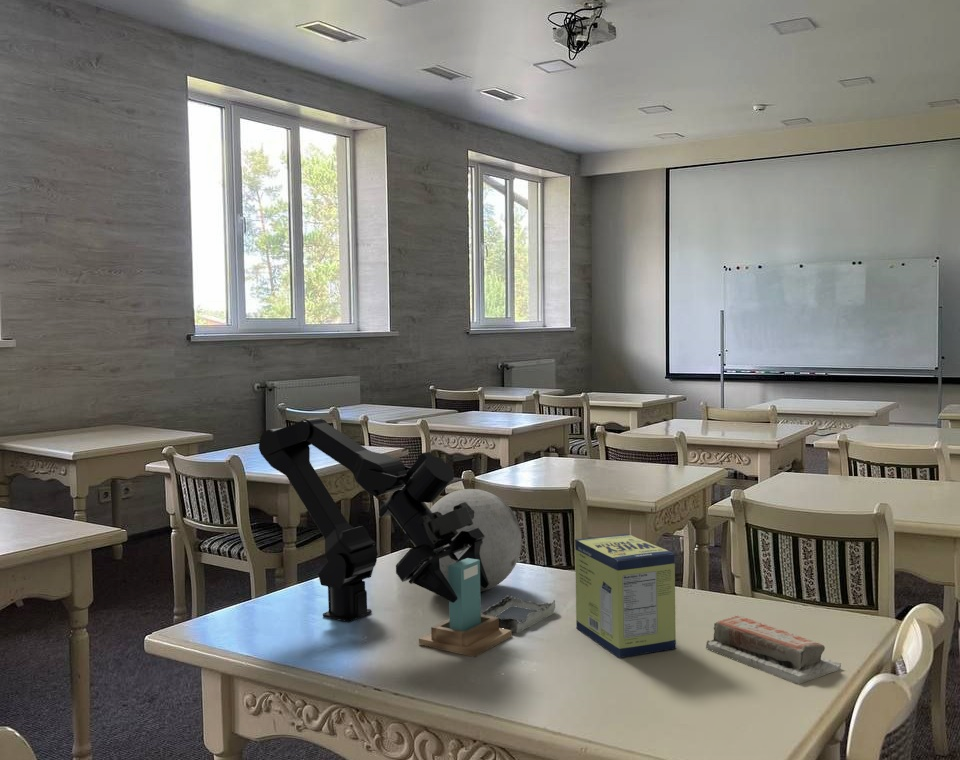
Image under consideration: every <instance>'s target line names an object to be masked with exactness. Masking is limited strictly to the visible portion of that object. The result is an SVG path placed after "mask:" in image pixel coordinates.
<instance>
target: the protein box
mask: <svg viewBox="0 0 960 760" xmlns="http://www.w3.org/2000/svg"><path fill="white" fill-rule="evenodd" d="M574 542H575V544H574V548H575V549H574V551H575V552H574V553H575V555H574V556H575V612H576V613H575V615H576V616H575V617H576V619H575V620H576V629H577V630H578V631H580V632H581V633H583V635H586V636H587V637H588V638H590V639H592V641H594V642H595V643H597V644H598V645H599V646H601V647H603V648H604V649H606V650H607V651H608V652H610V653H611V654H613V655H614V656H616V657H617V658H619V657H620V658H621V657H622V658H625V657H631V656H638V655H645V654H651V653H656V652H664V651H669V649H670V650H674V649H677V639H676V633H677V632H676V571H675V570H676V566H675V565H676V564H675V561H676V559H675V553H674V552H673V551H670V550H668V549H665V548H662V547H660V546H658V545H655V544H652V543H651V542H648V541H645V540H643V539H640V538H638V537H636V536H634V535H631V534H629V533H624V534H614V535H606V536H597V537H596V536H595V537H588V538H576V539H574ZM663 650H664V651H663Z"/></svg>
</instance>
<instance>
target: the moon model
mask: <svg viewBox="0 0 960 760" xmlns="http://www.w3.org/2000/svg"><path fill="white" fill-rule="evenodd" d="M464 502H466V503H467V504H468V505H469V506H470V507H471V509H472V510H474V518H473V519H472V521H473V525H470V526H468V525H467V526H465V527H463V528H461V529H458V530H456V531H457V532H458V534H459V533H460V532H461V531H463V530H465V529H468V528H471V527H475V528H479V529H480V531H481V532H482V533H483V534H484V536H485V538H484V539H483V544H482V545H481V547H480V558H481V561H482V565H483V568H484V570H485V573H486V576H487V579H488V582H489V585H488V586H487V587H486V588H483V587H482V586H481V585H480V592H484V591H487V590H488V591H489V590H490V589H492V588H494V587H496V586H498V585H500V584H501V583H502V582H503V581H504V580H506V579H507V578H508V576H509V575H510V574H511V573H512V572H513V570H514V569H515V566H517V563H518V561H519V558H520V555H521V551H522V543H523V542H522V541H523V540H522V531H521V527H520V523H519V521H518V518H517V516H516V514H515V513H514V511H513V510H512V509H511V507H510V506H509V505H508V504H507V503H506V501H504V500H503V499H502V498H501V497H499V496H497V495H496V494H493V493H491V492H489V491H486V490H483V489H478V488H465V489H459V490H455V491H452V492H450V493H448V494H446V495H444V496H442V497H441V498H440V499H438V501H436V502H435V503H434V504H433V505H432V506H431V507H430V508H429V509H430V510H431V511H432V513H434V512H437V511H438V512H440V513H441V514H442V515H444V514H446V513H449V512H451V511H453V508H454V506H456V505H459V504H460V503H464ZM458 534H457V535H458ZM457 535H456V536H457ZM456 536H455V537H453V538H452V539H451V540H452V541H453V540H454V539H455V538H456ZM444 551H445V550H444ZM457 561H458V560H457ZM457 561H455V560H453V559H451V558H450V556H449V555H448V556H445V557H443V558H440V559H439V563H440V570H441V572H442V573H443V575H444V576H445V578H446V579H447V581H448V582H449V574H448V565H451V564H453V563H456V562H457Z"/></svg>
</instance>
